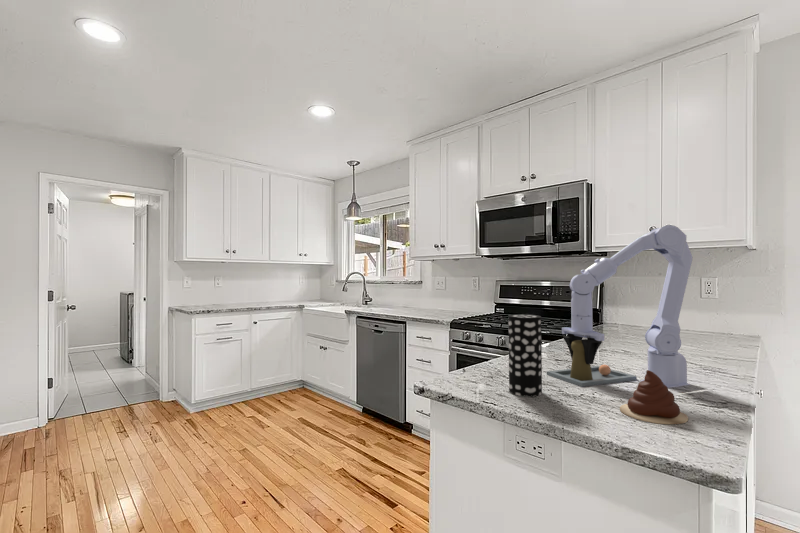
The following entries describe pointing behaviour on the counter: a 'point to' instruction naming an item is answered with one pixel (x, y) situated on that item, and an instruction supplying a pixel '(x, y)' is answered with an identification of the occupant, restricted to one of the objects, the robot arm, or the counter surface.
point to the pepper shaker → (579, 363)
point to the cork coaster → (654, 417)
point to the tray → (596, 375)
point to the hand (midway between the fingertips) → (582, 361)
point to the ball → (604, 370)
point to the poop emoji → (653, 398)
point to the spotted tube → (525, 355)
